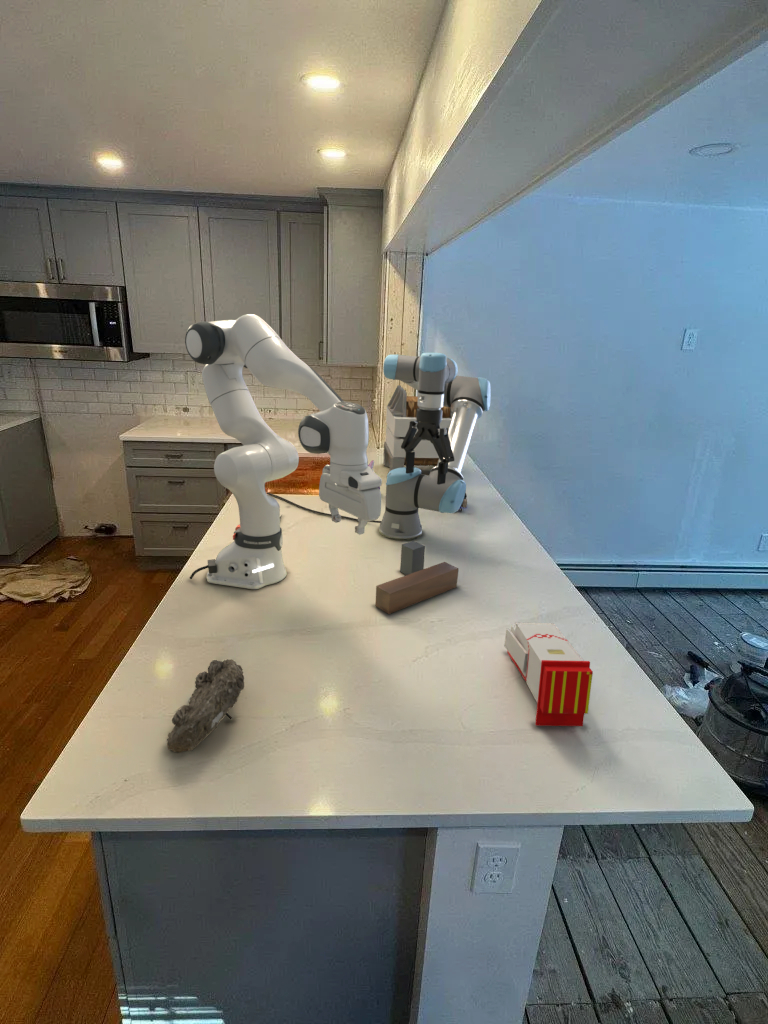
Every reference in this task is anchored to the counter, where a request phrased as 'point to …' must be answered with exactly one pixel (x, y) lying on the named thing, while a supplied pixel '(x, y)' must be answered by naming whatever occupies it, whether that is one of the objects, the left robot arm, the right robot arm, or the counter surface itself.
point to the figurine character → (464, 502)
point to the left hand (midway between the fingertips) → (347, 527)
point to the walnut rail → (416, 587)
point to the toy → (551, 672)
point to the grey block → (412, 557)
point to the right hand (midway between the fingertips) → (424, 478)
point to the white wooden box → (398, 423)
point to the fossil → (206, 705)
